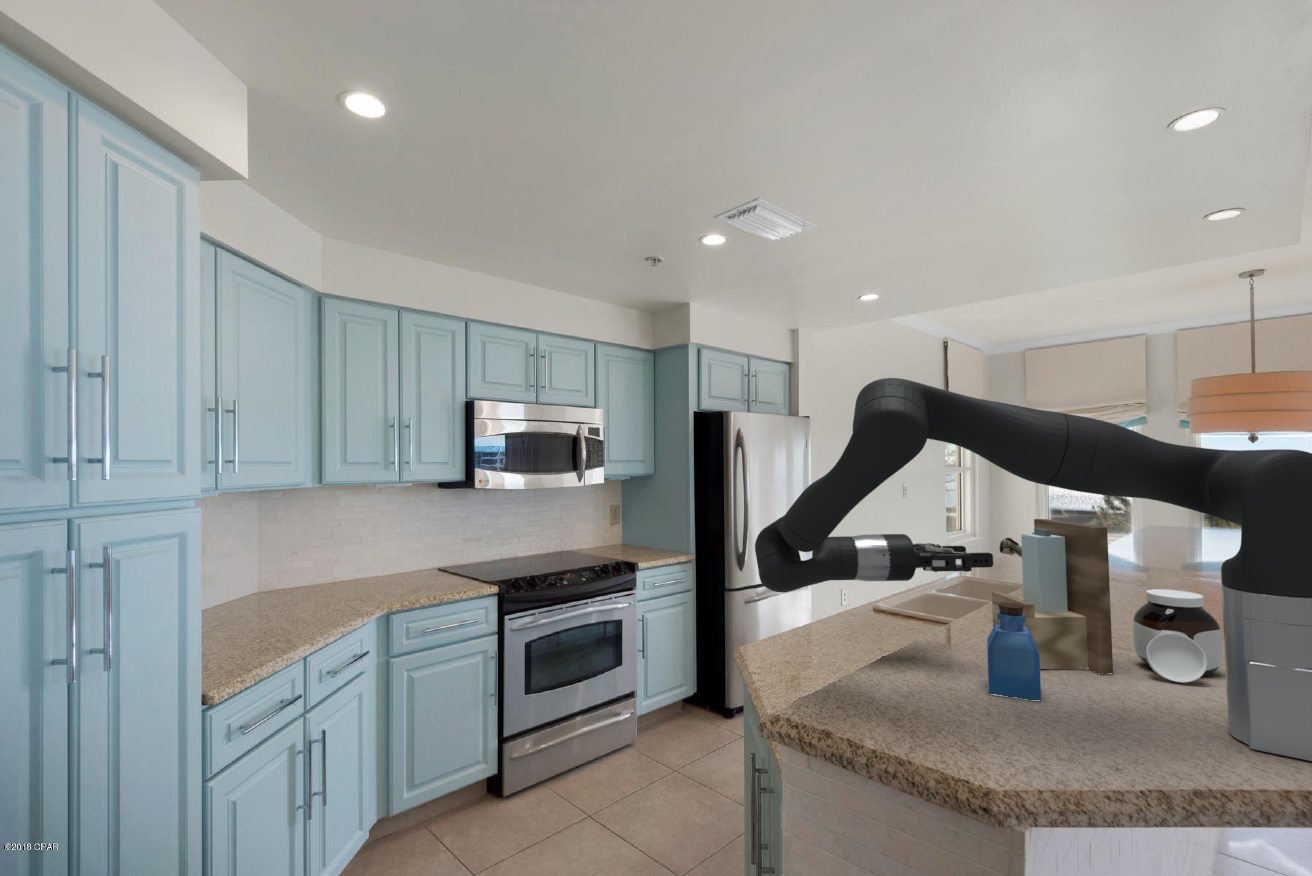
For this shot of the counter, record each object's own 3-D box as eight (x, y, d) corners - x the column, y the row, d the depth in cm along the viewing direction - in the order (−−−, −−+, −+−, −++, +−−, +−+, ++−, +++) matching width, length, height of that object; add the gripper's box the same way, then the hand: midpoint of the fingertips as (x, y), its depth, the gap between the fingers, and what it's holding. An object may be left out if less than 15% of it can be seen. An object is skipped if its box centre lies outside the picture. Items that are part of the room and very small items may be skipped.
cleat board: (1039, 675, 95) (1033, 528, 95) (985, 646, 110) (981, 519, 110) (1113, 674, 95) (1107, 527, 96) (1049, 645, 110) (1045, 518, 111)
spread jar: (1194, 663, 100) (1190, 588, 100) (1254, 688, 88) (1250, 604, 89) (1113, 661, 101) (1110, 588, 101) (1163, 686, 90) (1159, 603, 90)
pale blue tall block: (1040, 613, 100) (1037, 531, 101) (1023, 606, 105) (1021, 528, 105) (1067, 612, 100) (1064, 530, 101) (1050, 606, 105) (1047, 527, 105)
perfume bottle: (988, 694, 87) (986, 607, 88) (988, 681, 93) (986, 598, 93) (1041, 702, 84) (1038, 611, 85) (1037, 687, 90) (1034, 602, 90)
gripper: (895, 539, 96) (1001, 537, 96) (863, 530, 110) (956, 528, 110) (896, 589, 95) (1003, 587, 96) (864, 573, 110) (957, 571, 110)
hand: (977, 555), depth 103 cm, fingers open, 8 cm apart
